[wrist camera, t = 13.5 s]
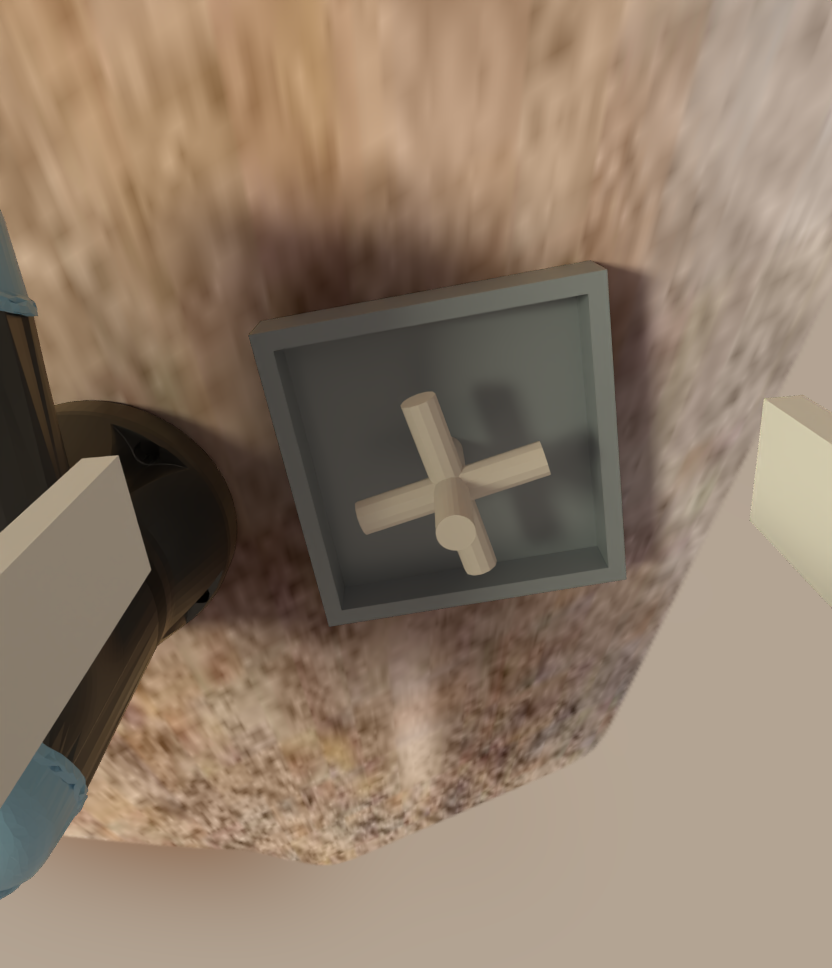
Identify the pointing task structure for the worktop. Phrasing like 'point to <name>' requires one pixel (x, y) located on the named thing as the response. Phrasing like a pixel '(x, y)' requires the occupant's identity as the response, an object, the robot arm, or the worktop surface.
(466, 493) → the pipe connector
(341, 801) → the worktop surface
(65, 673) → the robot arm
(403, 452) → the tray
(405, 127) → the worktop surface
